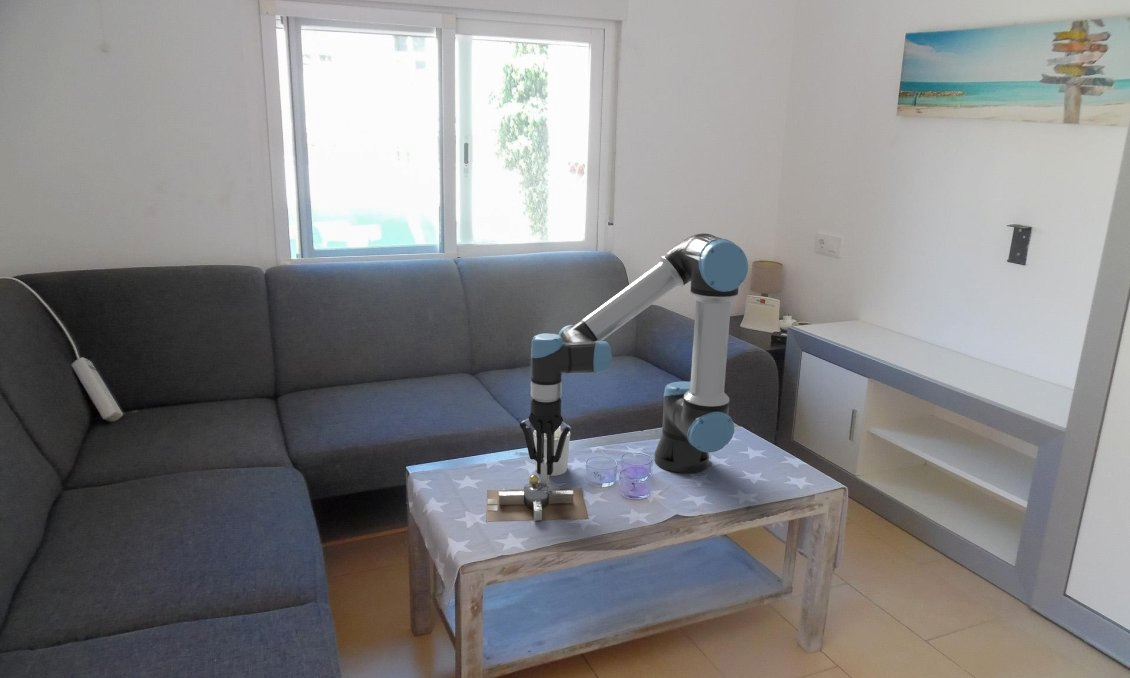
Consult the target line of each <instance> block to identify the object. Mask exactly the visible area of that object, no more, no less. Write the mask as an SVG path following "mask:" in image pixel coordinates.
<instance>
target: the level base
mask: <svg viewBox="0 0 1130 678" xmlns="http://www.w3.org/2000/svg"><path fill="white" fill-rule="evenodd" d="M565 490H573V493H574V497H573V503H554V504H549V503H548V505H547V506H546V507H544V508H542V520H541V521H559V520H560V521H562V520H564V521H565V520H568V521H569V520H589V519H590V518H589V514H588V510H587V509H588V508H587V505H586V501H585V500H586V499H585V496H584V493H583V492H584V491H583V487H579V488H578V487H574V488H573V487H571V488H570V487H569V488H549V491H565ZM520 491H524V488H523V489H489V490H486V516H485V517H486V518H485V519H486V520H485V521H486V523H487V522H491V523H492V522H523V521H524V522H525V521H527V522H528V521H535V520H534V513H533V509H532V508H528V507H526V506H525V505H524V504H512V505H499V492H520Z"/></svg>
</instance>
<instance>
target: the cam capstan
mask: <svg viewBox="0 0 1130 678" xmlns="http://www.w3.org/2000/svg"><path fill="white" fill-rule="evenodd" d="M523 489H524V491H520V492H499V505H512V504H524V505H525V506H526V507H528V508H532V509H533V513H534V520H533V521H543V520H542V508H544V507H546V506H547V505H548V503H549V504H554V503H573V497H574V493H573V490H565V491H549V489H550V487H549V485H548V486H547V485H546V484H544V483H541V482H540V478H539V476H538V475H536V474H531V475H530V476H529V478H528V483H527V484H525V485H524V486H523Z"/></svg>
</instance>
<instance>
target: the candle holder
mask: <svg viewBox="0 0 1130 678" xmlns="http://www.w3.org/2000/svg"><path fill="white" fill-rule="evenodd" d="M561 433H562V432H561V426H559V428H558V429H557V430H556V431H555V434H554V456H555V453H556V450H557V446H558V442H559V439H560V436H561ZM532 435H533V439H534V443H535V448H536V452H537V437H536V430H535V429H534V430H533V431H532ZM570 438H571V430H570V431H569V432H568V434H567V437H566V440H565V444H564V447H563V451H562V454H561V458H560V459H559V461H558V462H554V463H553V472H552V474H551V475H549V477H550V476H551V477H552V476H553V477H554V476H555V477H556V476H560V475H563V474H565V473H566V472H567V470H568V464H569V463H568V462H569V450H570ZM544 459H545V460H547V438H546V434H545V433H544V458H543V460H544ZM534 462H535V463H534V465H535V471H536V472H537V461H536V460H534Z"/></svg>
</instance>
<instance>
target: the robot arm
mask: <svg viewBox="0 0 1130 678" xmlns="http://www.w3.org/2000/svg"><path fill="white" fill-rule="evenodd" d="M748 270H749V261H748V258H747V255H746V253H745V252H744V250H743V249H742V248H741V247H740V246H739V245H737V244H736V243H735V242H733V241H732V240H729V239H726V238H722V237H717V236H715V235H713V234H710V233H703V232H702V233H698V234H693V235H691V236H689V237H687V238H686V239H683V240H682V241H681V242H679V243H678V244H676V245H674V246H673V247H672V248H670V249H669V250H668V251H666V252H665V253H664V254H663V255H661V256H660V257H659V261H658V263H657V264H656V265H654V266H653V267H651V268H650V269H649V270H647V271H646V272H644V273H643V274H642V275H641V276H640V277H638V278H636V279H635V280H633V282H631V283H629V285H627V286H626V287H625V288H623V289H622V290H621V291H619V292H618V293H616V294H615V295H614V296H613V297H611V298H610V299H608V300H607V301H605V302H604V303H603V304H601V305H600V306H599V307H598V308H597V309H595V310H594V311H592V312H591V313H589V314H588V315H587V316H585V317H584V318H582V320H580V321H578V322H577V323H576V324H567V325H566V326H564V327H562V328H561V329H560V330H559V331H558V334H556V333H548V332H547V333H546V332H545V333H539V334H536V335H534V336H533V337H532V339H531V344H530V345H531V347H530V349H531V350H530V397H531V398H530V412H529V413H530V414H529V416H528V418H526V419H523V420H522V421H521V422H520V424H519V427H520V429H521V430H522V432H523V436H524V439H525V443H526V447H527V448H526V449H527V451H528V456H529V459H530V460H532V461H533V460H534V461H535V460H536V461H537V471H536V473H537V474H539V475H540V483H544V484H546V485H547V486H548V487H549V485H550V476H549V475H551V474H552V472H553V463H554V462H558V461H559V459H560V458H561V454H562V451H563V447H564V444H565V440H566V437H567V434H568V432H569V431H570V432H571V429H572V427H573V426H572V424H567V423H566V422H565V421H564V418H563V416H562V398H561V397H562V390H563V389H562V388H563V387H562V385H563V384H562V382H563V381H562V380H563V379H562V378H563V377H562V376H563V374H567V375H568V374H587V373H591V374H592V373H595V374H597V373H600V372H601V373H602V372H607V371H609V370H610V368H611V366H612V359H613V357H612V349H611V345H610V344H609V343H608V341H604V340H605V339H606V338H608V337H609V336H611V335H612V334H613V333H614V332H616V331H617V330H619V329H621V327H623V326H624V325H625V324H627V323H628V322H630V321H631V320H632V319H634V318H635V317H636V316H638V315H639V314H640V313H642V312H643V311H644V310H646V309H648V308H649V307H650V306H651V305H653V304H654V303H656V302H657V301H658V300H659V299H661V298H662V297H664V296H665V295H666V294H667V293H670V292H671V291H672V290H673V289H674V288H677V287H683V286H685V285H687V284H688V283H690V294H691V295H692V296H693V297H694V298H695V307H694V308H695V309H694V310H695V311H694V312H695V313H694V326H693V340H692V341H693V343H692V354H691V355H692V356H691V371H690V373H691V374H690V381H674V382H670V383H667V385H665V387H664V393H663V408H662V409H663V410H662V411H663V412H662V431H661V436H660V438H659V440H658V444H657V446H656V448H655V452H654V462H655V464H656V465H657V466H658V467H660V468H661V469H664V470H666V471H670V472H673V473H674V472H675V473H680V474H681V473H682V474H683V473H684V474H685V473H686V474H689V473H690V474H691V473H698V472H702V471H704V470H706V469H707V468H708V467H709V465H710V453H715V452H718V451H720V450H722V449H724V448H725V446H727V445H729V443H730V442H731V441H732V439H733V437H734V433H735V423H734V421H733V419H732V417H731V416H730V415H729V412H730V411H729V409H730V397H729V396H728V395H727V393H725V383H726V373H727V371H726V370H727V358H728V346H729V345H728V344H729V335H730V334H729V333H730V321H731V309H732V308H731V307H732V301H733V300H734V299H735V298H736V297H738V296H739V287H740V286H741V285H742V283H743V282H745V280H746V278H747V275H748ZM531 426H532V427H533V428H534V430H536V437H537V452H536V448H535V443H534V435H533V431H532V428H531ZM559 426H560V427H561V432H562V433H561V436H560V439H559V442H558V446H557V450H556V453H555V456H554V434H555V431H556V430H557V429H558V428H559ZM544 433H545V434H546V438H547V460H545V459H544V460H543V458H544Z"/></svg>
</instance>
